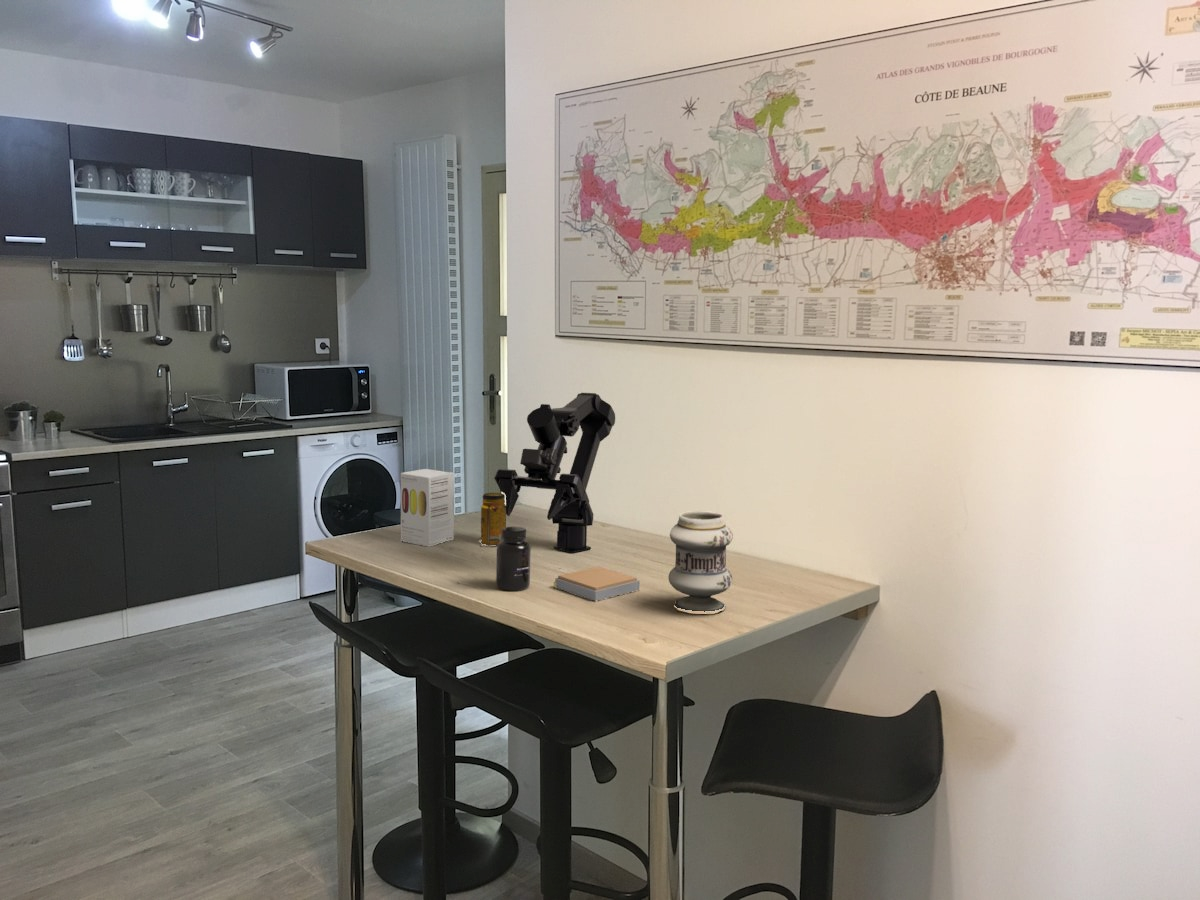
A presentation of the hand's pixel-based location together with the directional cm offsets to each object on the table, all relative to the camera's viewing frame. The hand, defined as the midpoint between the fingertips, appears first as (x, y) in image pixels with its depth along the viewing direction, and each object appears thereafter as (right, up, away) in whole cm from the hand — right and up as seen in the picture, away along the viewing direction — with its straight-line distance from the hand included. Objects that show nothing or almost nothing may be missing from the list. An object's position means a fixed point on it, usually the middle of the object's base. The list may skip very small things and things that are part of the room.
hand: (527, 516), depth 194 cm
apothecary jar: (+34, -16, -16) cm, 41 cm away
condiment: (-10, -9, +32) cm, 34 cm away
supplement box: (-27, -8, +32) cm, 43 cm away
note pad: (+14, -14, -5) cm, 21 cm away
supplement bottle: (-3, -14, -5) cm, 15 cm away
